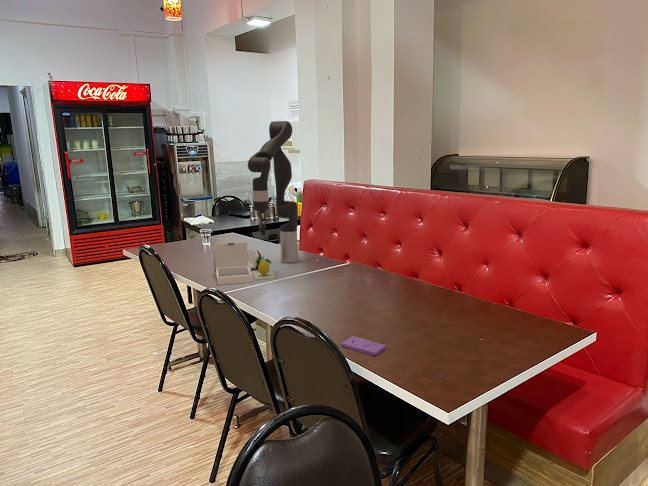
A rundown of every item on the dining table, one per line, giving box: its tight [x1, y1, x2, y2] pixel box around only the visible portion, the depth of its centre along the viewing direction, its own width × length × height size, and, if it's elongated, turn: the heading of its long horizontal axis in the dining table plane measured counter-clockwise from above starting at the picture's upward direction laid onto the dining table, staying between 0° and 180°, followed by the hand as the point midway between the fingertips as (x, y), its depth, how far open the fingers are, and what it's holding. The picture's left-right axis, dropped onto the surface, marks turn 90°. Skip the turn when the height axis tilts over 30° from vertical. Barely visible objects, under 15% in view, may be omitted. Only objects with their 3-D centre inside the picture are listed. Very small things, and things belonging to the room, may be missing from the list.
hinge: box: [247, 248, 264, 272], centre depth 259 cm, size 17×5×10 cm, turn 25°
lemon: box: [255, 254, 272, 275], centre depth 239 cm, size 7×6×10 cm
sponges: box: [341, 335, 386, 356], centre depth 156 cm, size 7×13×2 cm, turn 53°
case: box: [212, 241, 253, 286], centre depth 236 cm, size 17×20×16 cm
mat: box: [252, 271, 275, 281], centre depth 240 cm, size 9×11×1 cm
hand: (262, 233), depth 236 cm, fingers open, 8 cm apart
